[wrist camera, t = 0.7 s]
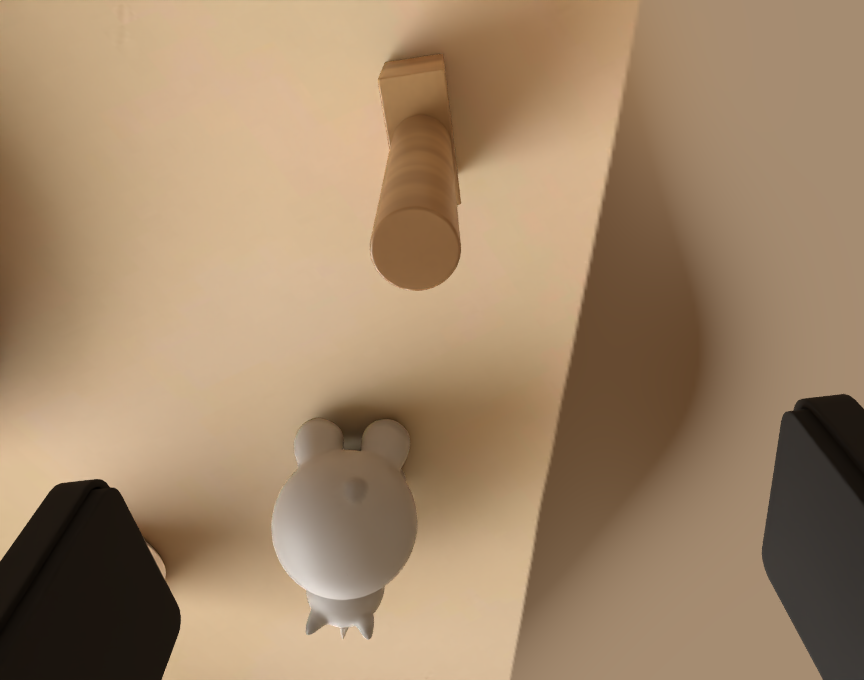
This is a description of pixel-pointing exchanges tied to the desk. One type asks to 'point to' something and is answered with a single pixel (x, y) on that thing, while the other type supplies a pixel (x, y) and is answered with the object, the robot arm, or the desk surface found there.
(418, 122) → the wooden stamp
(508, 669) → the desk surface
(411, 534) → the chubby cartoon animal
